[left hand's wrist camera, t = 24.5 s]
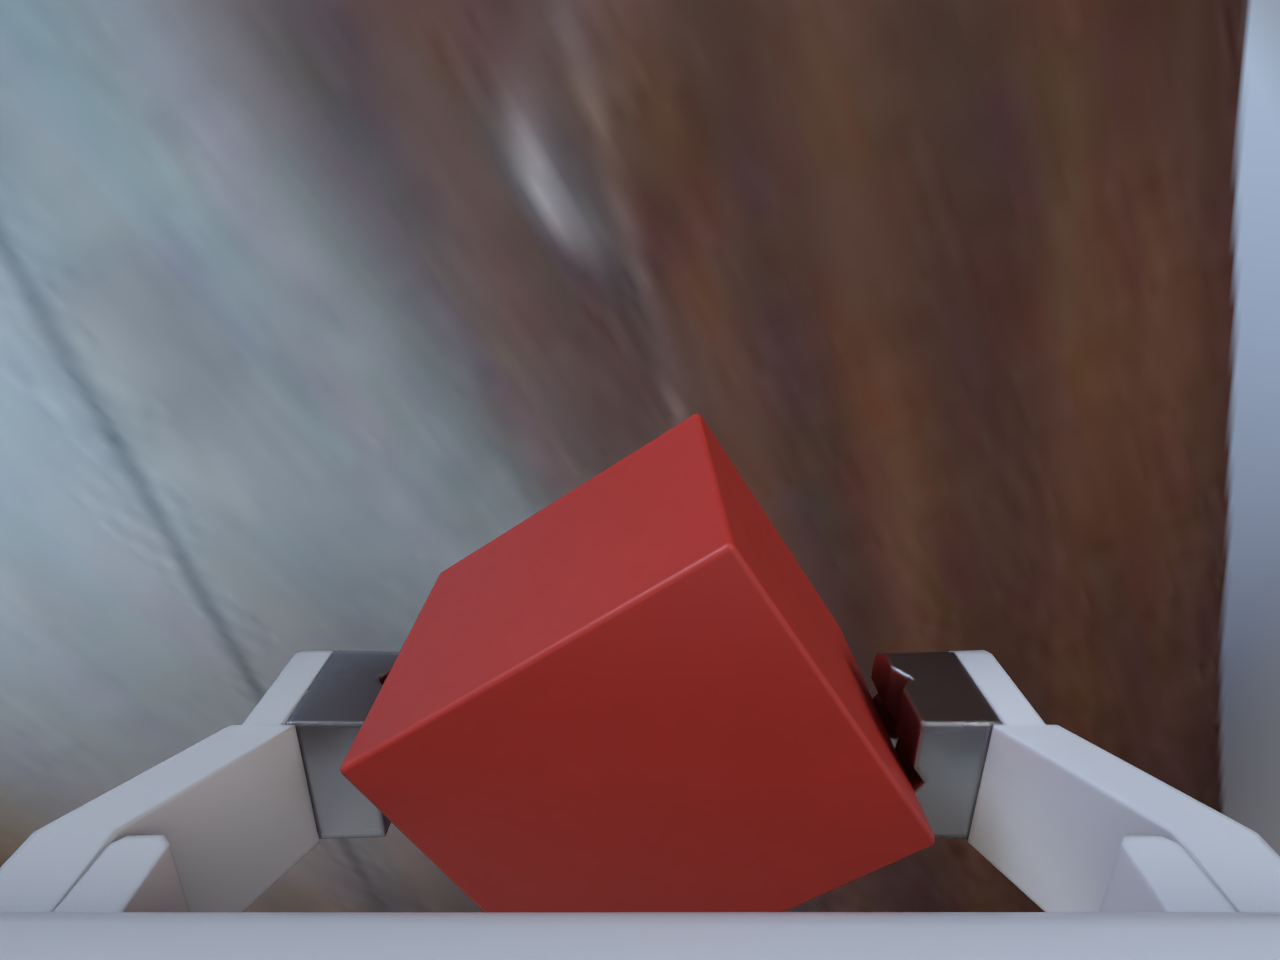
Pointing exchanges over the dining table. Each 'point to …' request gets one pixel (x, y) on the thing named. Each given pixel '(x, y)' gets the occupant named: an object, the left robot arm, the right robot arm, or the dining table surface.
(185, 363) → the dining table surface
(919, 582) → the dining table surface
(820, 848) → the block
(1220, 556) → the dining table surface
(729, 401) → the dining table surface
